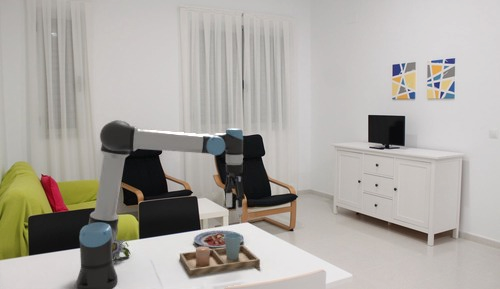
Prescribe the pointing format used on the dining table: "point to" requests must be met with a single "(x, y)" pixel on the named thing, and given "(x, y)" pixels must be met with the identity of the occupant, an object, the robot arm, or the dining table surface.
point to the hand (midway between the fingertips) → (234, 210)
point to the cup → (232, 245)
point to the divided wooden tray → (219, 261)
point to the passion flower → (119, 249)
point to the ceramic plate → (213, 238)
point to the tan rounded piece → (202, 256)
